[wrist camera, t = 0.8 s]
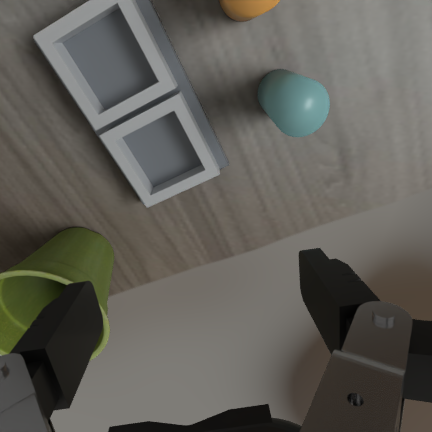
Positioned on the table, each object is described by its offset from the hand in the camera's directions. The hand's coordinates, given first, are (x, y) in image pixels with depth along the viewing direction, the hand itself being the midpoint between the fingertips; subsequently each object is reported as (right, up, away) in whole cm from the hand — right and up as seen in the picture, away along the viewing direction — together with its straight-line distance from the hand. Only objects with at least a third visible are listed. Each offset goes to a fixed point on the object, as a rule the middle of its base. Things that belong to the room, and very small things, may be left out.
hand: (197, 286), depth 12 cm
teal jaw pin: (+7, +14, +17) cm, 23 cm away
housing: (-6, +13, +18) cm, 23 cm away
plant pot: (-15, -1, +26) cm, 30 cm away
